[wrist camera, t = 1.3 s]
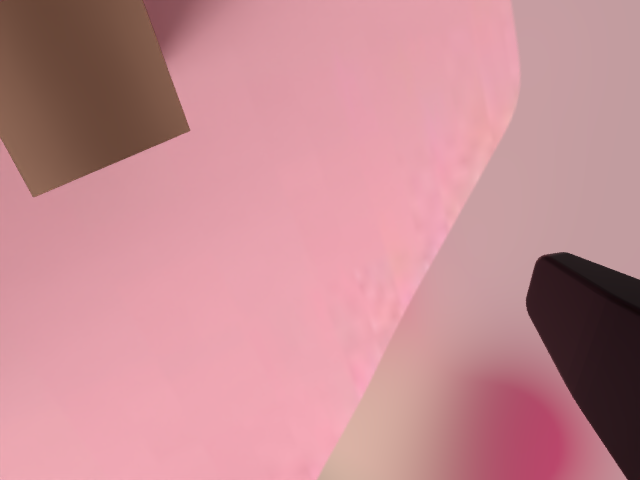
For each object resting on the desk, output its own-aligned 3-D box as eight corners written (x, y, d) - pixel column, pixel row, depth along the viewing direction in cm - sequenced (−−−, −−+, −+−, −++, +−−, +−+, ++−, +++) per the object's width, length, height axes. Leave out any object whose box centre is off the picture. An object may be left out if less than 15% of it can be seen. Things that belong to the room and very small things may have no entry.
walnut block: (6, 143, 20) (33, 197, 16) (-69, 5, 18) (-64, 21, 13) (132, 94, 22) (190, 130, 17) (78, -39, 20) (129, -38, 15)
